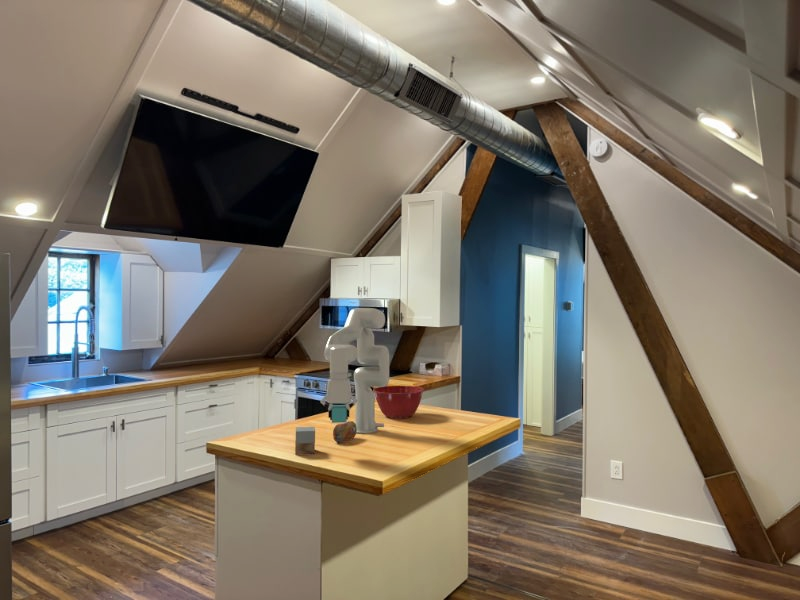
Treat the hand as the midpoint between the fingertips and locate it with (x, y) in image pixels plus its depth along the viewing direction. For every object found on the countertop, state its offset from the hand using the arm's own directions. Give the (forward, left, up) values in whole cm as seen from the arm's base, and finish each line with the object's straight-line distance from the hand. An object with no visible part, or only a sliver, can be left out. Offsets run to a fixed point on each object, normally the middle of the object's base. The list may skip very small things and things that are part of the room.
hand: (338, 418), depth 237 cm
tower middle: (+14, -5, -10) cm, 18 cm away
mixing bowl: (-37, -76, -15) cm, 85 cm away
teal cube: (0, 0, -1) cm, 1 cm away
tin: (-4, -24, -15) cm, 28 cm away
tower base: (+14, -6, -15) cm, 21 cm away
